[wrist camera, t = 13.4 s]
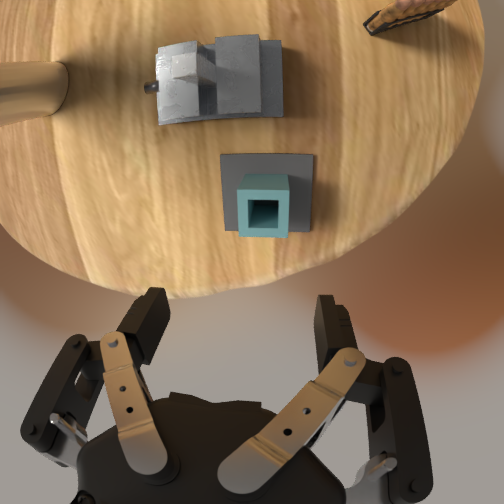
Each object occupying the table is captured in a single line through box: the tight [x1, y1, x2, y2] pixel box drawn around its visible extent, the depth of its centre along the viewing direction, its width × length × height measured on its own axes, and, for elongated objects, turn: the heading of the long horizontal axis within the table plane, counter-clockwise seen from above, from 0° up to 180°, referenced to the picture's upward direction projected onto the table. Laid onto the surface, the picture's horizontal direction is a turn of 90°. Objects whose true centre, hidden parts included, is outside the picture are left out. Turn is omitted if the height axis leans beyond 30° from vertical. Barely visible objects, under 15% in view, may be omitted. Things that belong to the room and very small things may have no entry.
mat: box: [220, 153, 313, 232], centre depth 33 cm, size 11×10×1 cm
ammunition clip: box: [363, 0, 457, 36], centre depth 14 cm, size 11×2×12 cm, turn 124°
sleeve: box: [237, 174, 289, 238], centre depth 30 cm, size 5×5×7 cm
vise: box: [144, 34, 283, 125], centre depth 21 cm, size 14×9×14 cm, turn 92°
